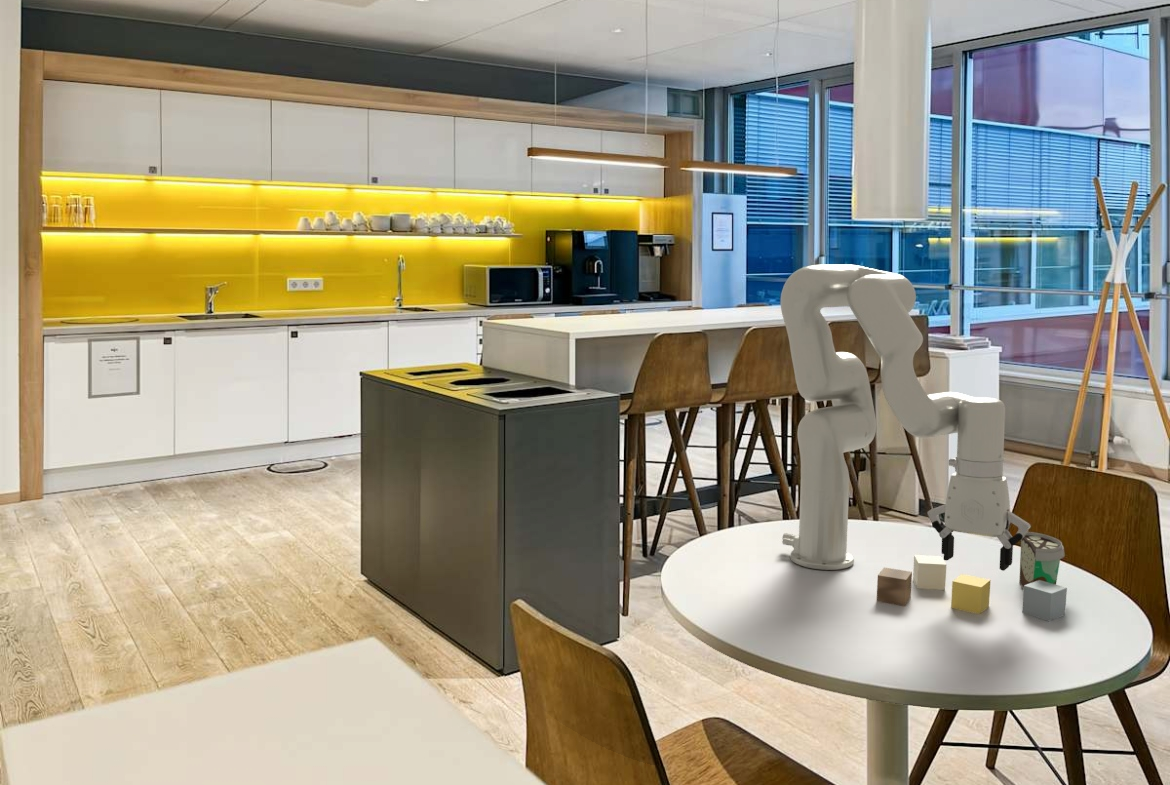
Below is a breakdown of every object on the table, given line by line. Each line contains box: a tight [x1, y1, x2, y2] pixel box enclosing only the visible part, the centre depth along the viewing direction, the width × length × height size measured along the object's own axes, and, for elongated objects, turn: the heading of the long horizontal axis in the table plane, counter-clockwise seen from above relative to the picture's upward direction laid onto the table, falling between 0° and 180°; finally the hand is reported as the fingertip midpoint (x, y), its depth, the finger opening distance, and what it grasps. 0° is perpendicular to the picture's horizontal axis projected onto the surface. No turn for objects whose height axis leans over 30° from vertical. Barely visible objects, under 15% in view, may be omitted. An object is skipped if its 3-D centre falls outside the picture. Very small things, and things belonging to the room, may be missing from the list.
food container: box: [1018, 531, 1066, 591], centre depth 182 cm, size 12×6×10 cm, turn 168°
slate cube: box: [1021, 580, 1068, 622], centre depth 172 cm, size 5×5×5 cm
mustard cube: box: [950, 573, 991, 615], centre depth 175 cm, size 5×5×5 cm
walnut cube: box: [876, 567, 913, 607], centre depth 179 cm, size 5×5×5 cm
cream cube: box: [912, 554, 947, 591], centre depth 187 cm, size 5×5×5 cm
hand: (975, 563), depth 174 cm, fingers open, 9 cm apart
